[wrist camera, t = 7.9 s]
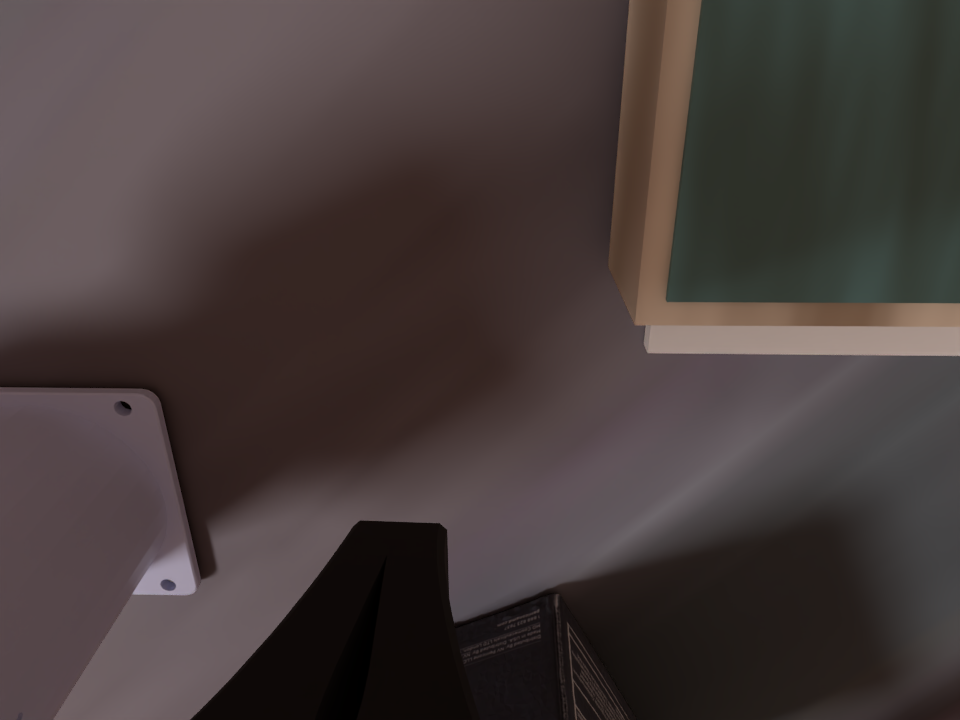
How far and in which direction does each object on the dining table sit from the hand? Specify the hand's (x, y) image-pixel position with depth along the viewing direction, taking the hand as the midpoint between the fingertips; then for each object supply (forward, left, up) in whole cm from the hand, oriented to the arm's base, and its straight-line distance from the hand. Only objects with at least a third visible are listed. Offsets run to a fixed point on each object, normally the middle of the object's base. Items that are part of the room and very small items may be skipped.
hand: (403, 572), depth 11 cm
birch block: (+4, +6, -8) cm, 11 cm away
